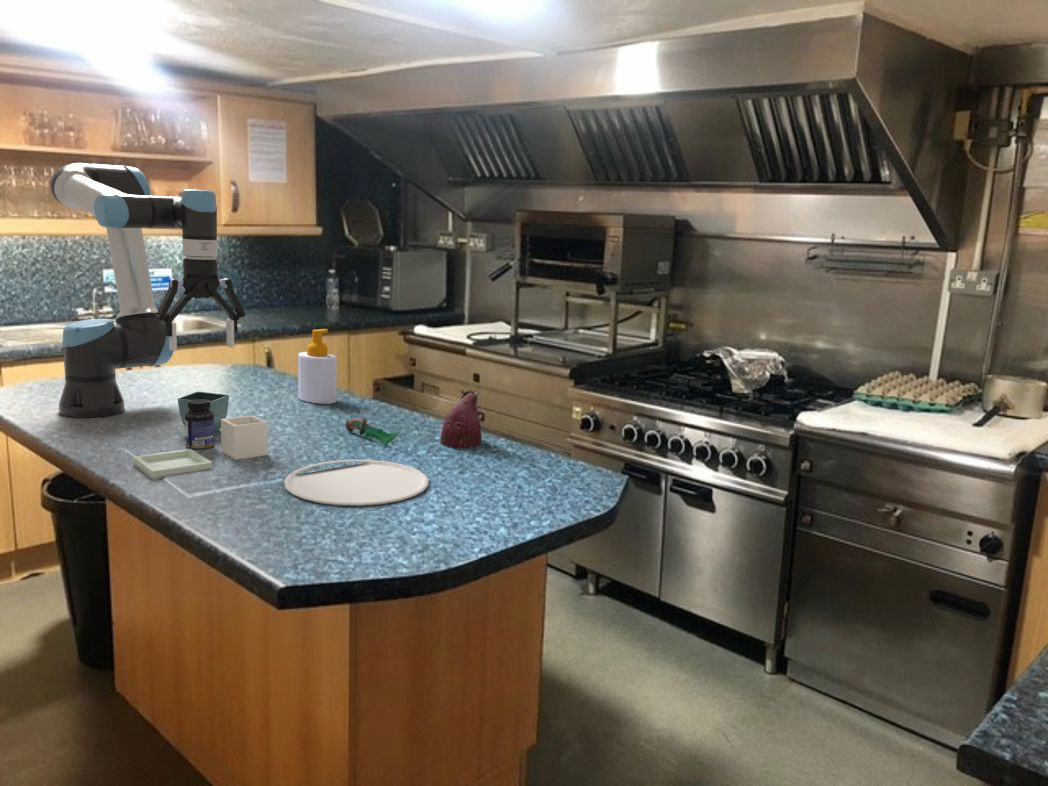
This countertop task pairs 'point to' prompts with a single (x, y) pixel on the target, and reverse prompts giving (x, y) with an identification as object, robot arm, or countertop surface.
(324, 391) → the soap bottle
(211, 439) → the pill bottle
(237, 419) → the open cream box
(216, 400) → the flower pot
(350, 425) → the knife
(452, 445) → the vegetable
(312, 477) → the plate
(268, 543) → the countertop surface
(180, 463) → the tray
